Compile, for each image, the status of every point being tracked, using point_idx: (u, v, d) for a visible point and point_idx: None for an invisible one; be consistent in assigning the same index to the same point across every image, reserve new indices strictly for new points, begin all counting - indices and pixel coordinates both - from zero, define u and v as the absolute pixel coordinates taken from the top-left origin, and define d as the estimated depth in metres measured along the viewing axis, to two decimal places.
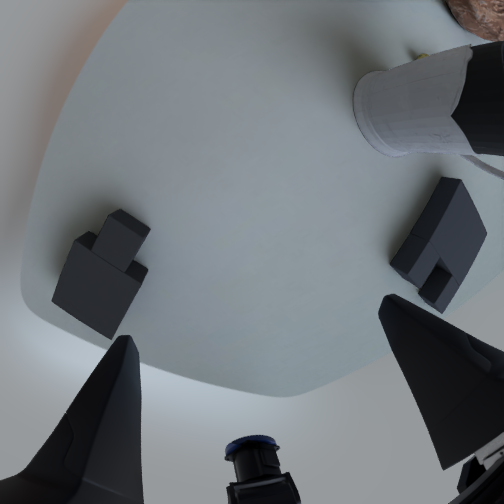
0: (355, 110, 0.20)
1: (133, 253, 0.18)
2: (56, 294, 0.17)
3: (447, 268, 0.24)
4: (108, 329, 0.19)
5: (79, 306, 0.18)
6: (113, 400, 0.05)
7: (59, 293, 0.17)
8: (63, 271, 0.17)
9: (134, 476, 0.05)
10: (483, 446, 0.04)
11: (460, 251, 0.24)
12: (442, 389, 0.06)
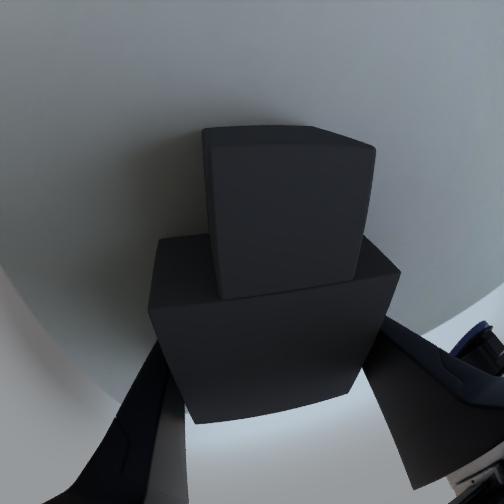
0: None
1: (364, 214, 0.05)
2: (197, 414, 0.08)
3: None
4: (340, 387, 0.09)
5: (262, 401, 0.08)
6: (166, 399, 0.06)
7: (202, 411, 0.08)
8: (180, 382, 0.07)
9: (182, 477, 0.05)
10: (454, 471, 0.04)
11: None
12: (409, 407, 0.06)
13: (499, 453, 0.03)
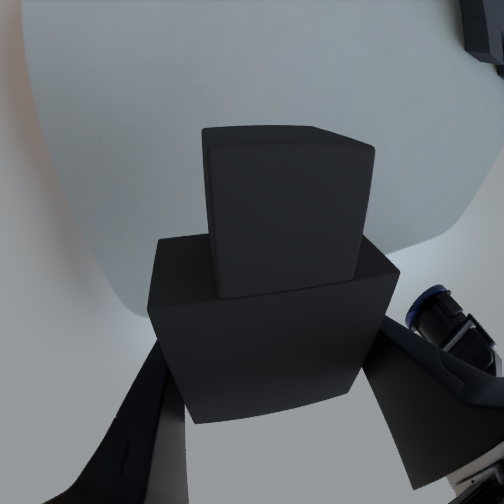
0: None
1: (363, 214, 0.05)
2: (196, 414, 0.08)
3: None
4: (339, 387, 0.09)
5: (261, 401, 0.08)
6: (166, 399, 0.06)
7: (201, 411, 0.08)
8: (179, 382, 0.07)
9: (182, 477, 0.05)
10: (453, 471, 0.04)
11: None
12: (409, 407, 0.06)
13: (499, 453, 0.03)
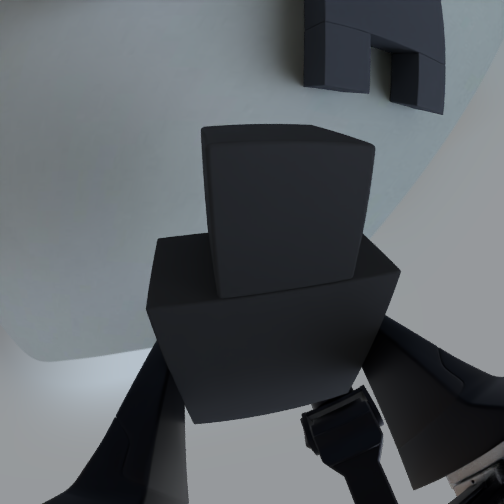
0: None
1: (363, 212, 0.05)
2: (196, 414, 0.08)
3: (403, 46, 0.11)
4: (339, 387, 0.09)
5: (261, 401, 0.08)
6: (166, 399, 0.06)
7: (201, 411, 0.08)
8: (178, 382, 0.07)
9: (182, 477, 0.05)
10: (453, 471, 0.04)
11: (406, 14, 0.10)
12: (409, 407, 0.06)
13: (499, 453, 0.03)
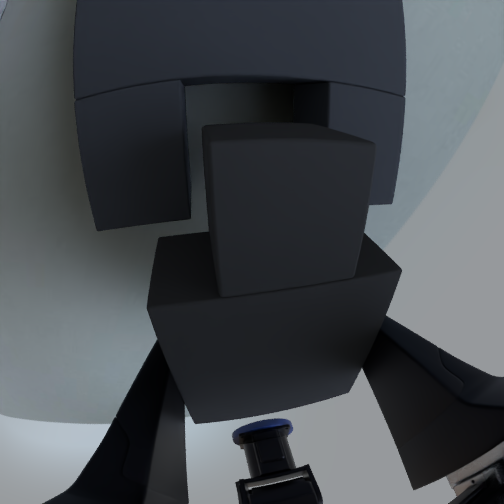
0: None
1: (365, 211, 0.05)
2: (197, 413, 0.08)
3: (282, 77, 0.06)
4: (340, 386, 0.09)
5: (262, 400, 0.08)
6: (166, 399, 0.06)
7: (201, 410, 0.08)
8: (179, 381, 0.07)
9: (182, 477, 0.05)
10: (453, 471, 0.04)
11: None
12: (409, 407, 0.06)
13: (499, 453, 0.03)
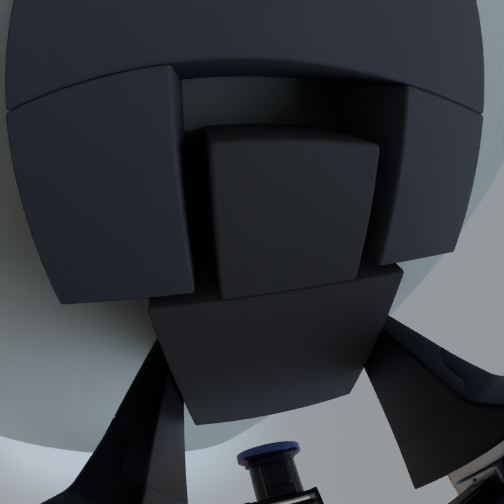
0: None
1: (367, 213, 0.05)
2: (197, 415, 0.08)
3: (343, 69, 0.04)
4: (341, 387, 0.09)
5: (263, 402, 0.08)
6: (165, 399, 0.06)
7: (202, 411, 0.08)
8: (180, 383, 0.07)
9: (181, 477, 0.05)
10: (455, 470, 0.04)
11: None
12: (411, 406, 0.06)
13: (501, 451, 0.03)
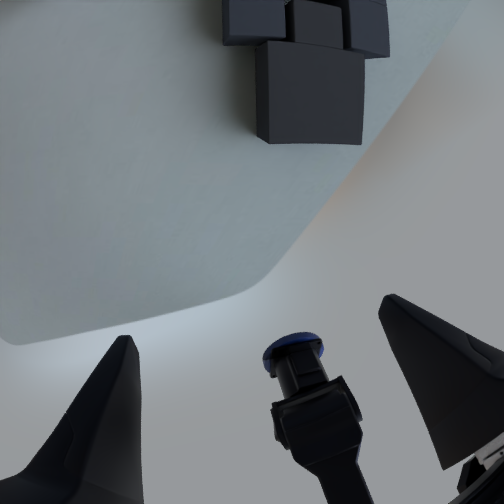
0: None
1: (341, 25, 0.11)
2: (273, 127, 0.14)
3: None
4: (354, 131, 0.14)
5: (311, 122, 0.14)
6: (113, 400, 0.05)
7: (277, 123, 0.14)
8: (271, 87, 0.12)
9: (134, 476, 0.05)
10: (483, 446, 0.04)
11: None
12: (442, 389, 0.06)
13: None
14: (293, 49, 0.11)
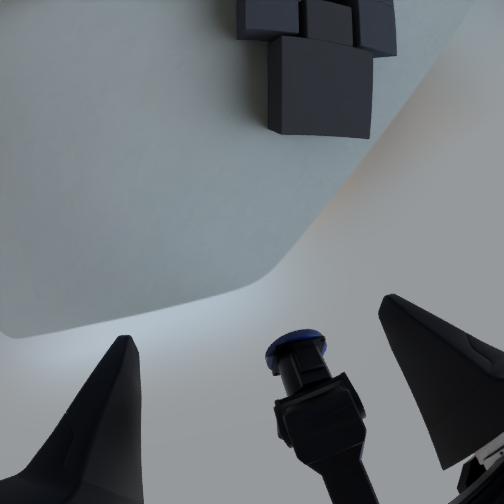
0: None
1: (351, 24, 0.11)
2: (285, 118, 0.14)
3: None
4: (363, 125, 0.15)
5: (322, 114, 0.14)
6: (113, 400, 0.05)
7: (289, 114, 0.14)
8: (284, 79, 0.13)
9: (134, 476, 0.05)
10: (483, 446, 0.04)
11: None
12: (442, 389, 0.06)
13: None
14: (306, 44, 0.12)
